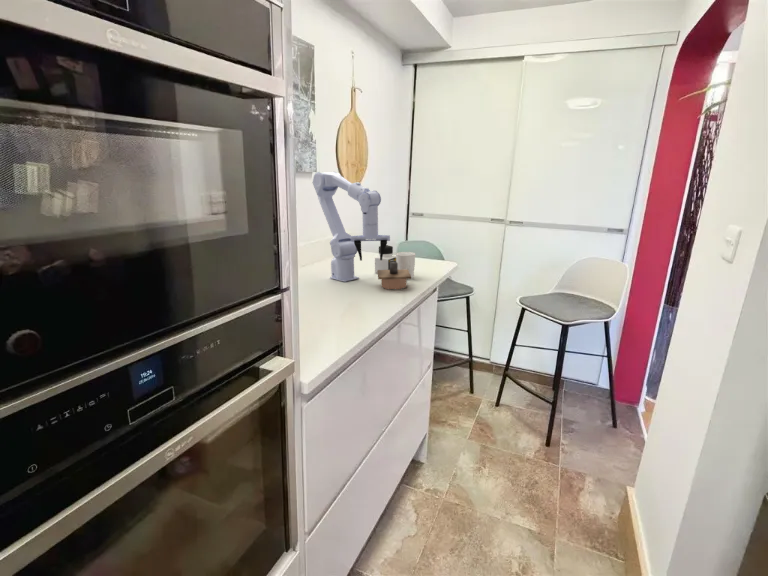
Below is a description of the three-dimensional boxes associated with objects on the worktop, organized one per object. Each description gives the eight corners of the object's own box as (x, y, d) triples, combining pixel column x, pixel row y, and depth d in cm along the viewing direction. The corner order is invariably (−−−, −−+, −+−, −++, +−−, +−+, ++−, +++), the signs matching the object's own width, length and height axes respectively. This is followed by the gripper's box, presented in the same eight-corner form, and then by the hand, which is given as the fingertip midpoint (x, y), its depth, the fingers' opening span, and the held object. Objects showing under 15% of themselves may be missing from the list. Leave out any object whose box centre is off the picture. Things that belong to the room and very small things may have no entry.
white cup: (415, 275, 180) (415, 252, 177) (414, 279, 173) (414, 255, 170) (396, 275, 181) (396, 251, 178) (395, 279, 173) (395, 255, 171)
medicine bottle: (388, 275, 181) (388, 247, 177) (374, 273, 184) (374, 246, 181) (397, 272, 186) (397, 244, 183) (383, 270, 190) (383, 243, 187)
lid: (378, 279, 156) (378, 266, 154) (377, 272, 167) (377, 260, 166) (411, 278, 156) (411, 265, 155) (407, 271, 168) (407, 259, 166)
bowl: (376, 286, 163) (376, 275, 162) (392, 282, 169) (392, 271, 168) (394, 290, 157) (394, 279, 155) (410, 286, 163) (410, 274, 162)
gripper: (350, 225, 155) (351, 262, 159) (390, 225, 156) (390, 261, 159) (351, 223, 162) (352, 258, 166) (389, 222, 162) (389, 258, 166)
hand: (371, 259), depth 163 cm, fingers open, 7 cm apart
